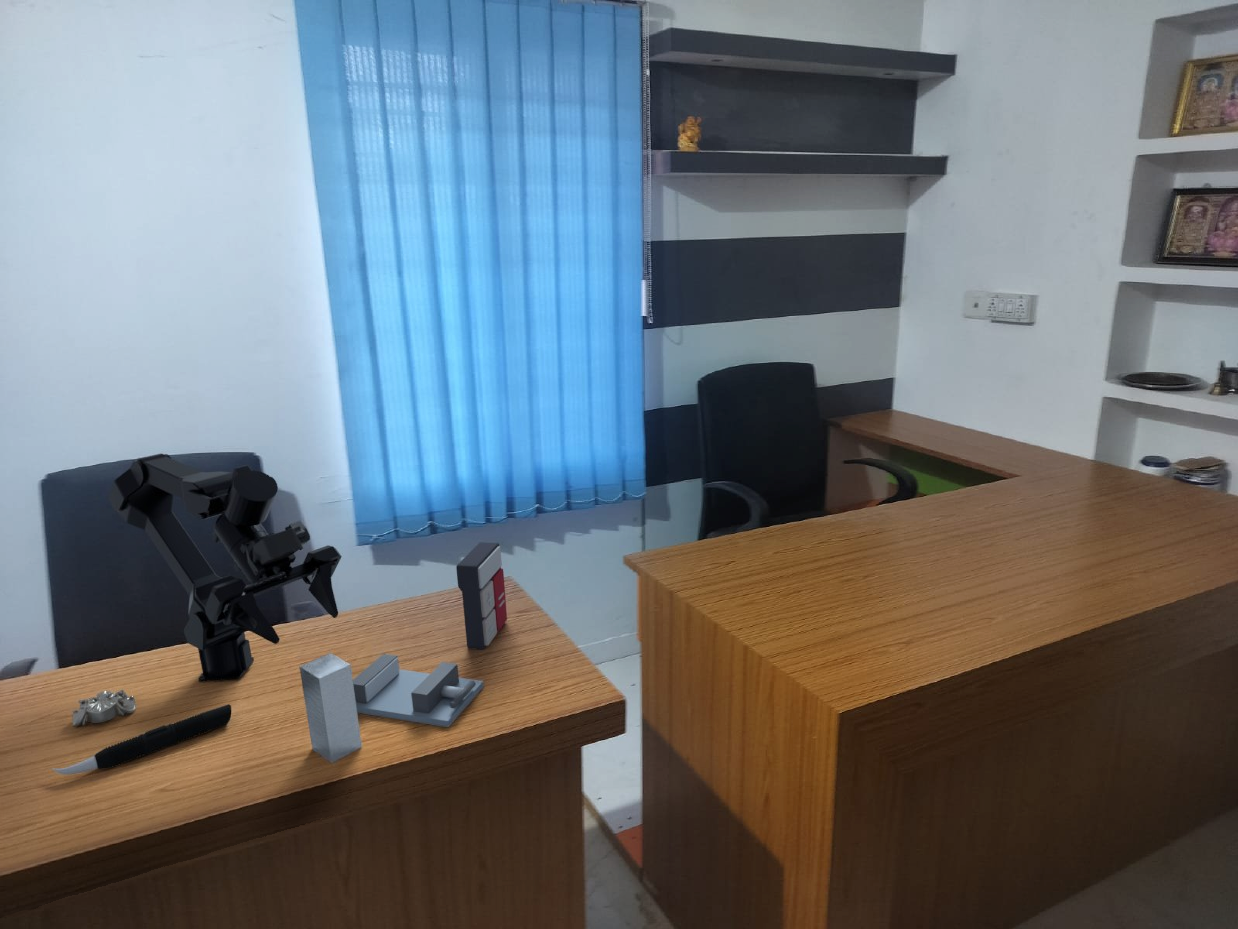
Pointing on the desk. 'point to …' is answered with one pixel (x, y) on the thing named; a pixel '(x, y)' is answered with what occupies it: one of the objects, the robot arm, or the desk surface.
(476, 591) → the calculator
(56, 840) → the desk surface
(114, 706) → the ornament
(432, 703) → the vise
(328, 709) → the steel block
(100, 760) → the utility knife
